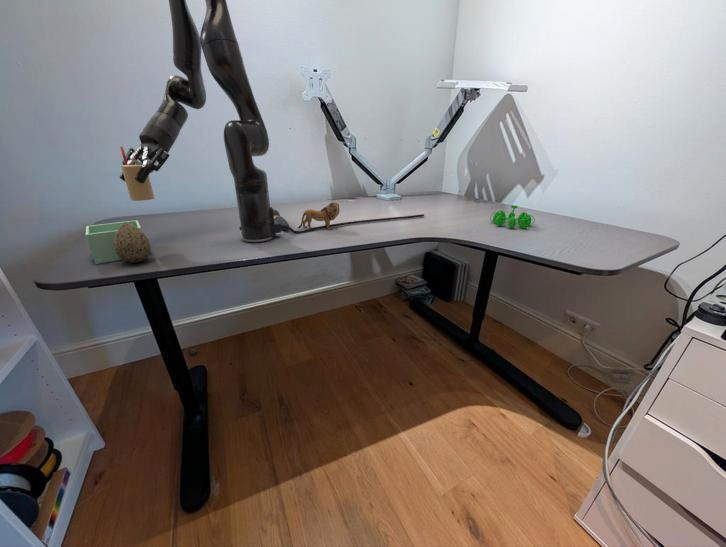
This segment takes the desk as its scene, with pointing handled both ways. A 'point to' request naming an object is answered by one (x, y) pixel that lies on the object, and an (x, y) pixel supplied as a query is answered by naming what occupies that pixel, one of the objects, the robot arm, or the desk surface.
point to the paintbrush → (280, 219)
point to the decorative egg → (131, 244)
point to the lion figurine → (321, 215)
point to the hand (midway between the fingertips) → (131, 180)
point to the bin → (105, 240)
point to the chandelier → (512, 219)
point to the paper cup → (136, 182)
